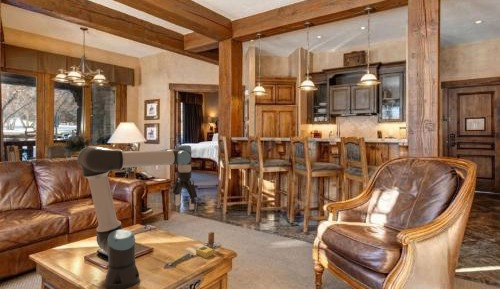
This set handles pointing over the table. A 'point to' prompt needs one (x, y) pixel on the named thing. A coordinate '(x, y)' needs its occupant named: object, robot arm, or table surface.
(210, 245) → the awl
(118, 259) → the robot arm
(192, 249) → the plywood panel
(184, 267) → the table surface
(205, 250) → the yellow flat block
